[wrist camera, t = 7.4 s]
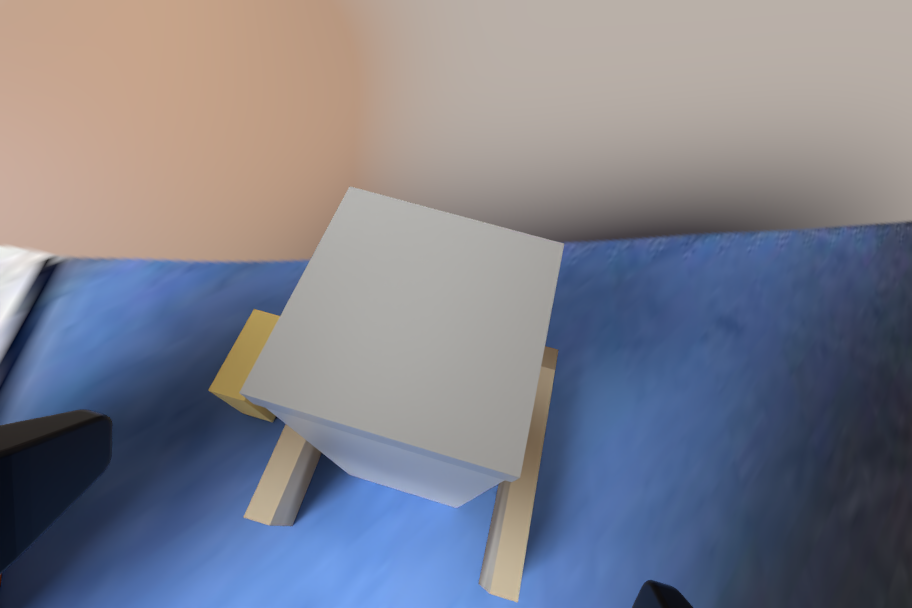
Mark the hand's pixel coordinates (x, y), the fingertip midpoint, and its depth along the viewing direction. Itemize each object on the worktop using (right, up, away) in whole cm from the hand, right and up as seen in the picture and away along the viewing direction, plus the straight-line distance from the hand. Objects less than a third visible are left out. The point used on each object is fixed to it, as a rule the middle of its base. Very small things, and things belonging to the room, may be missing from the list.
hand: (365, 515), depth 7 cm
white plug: (0, -2, +9) cm, 9 cm away
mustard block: (-6, 0, +10) cm, 11 cm away
